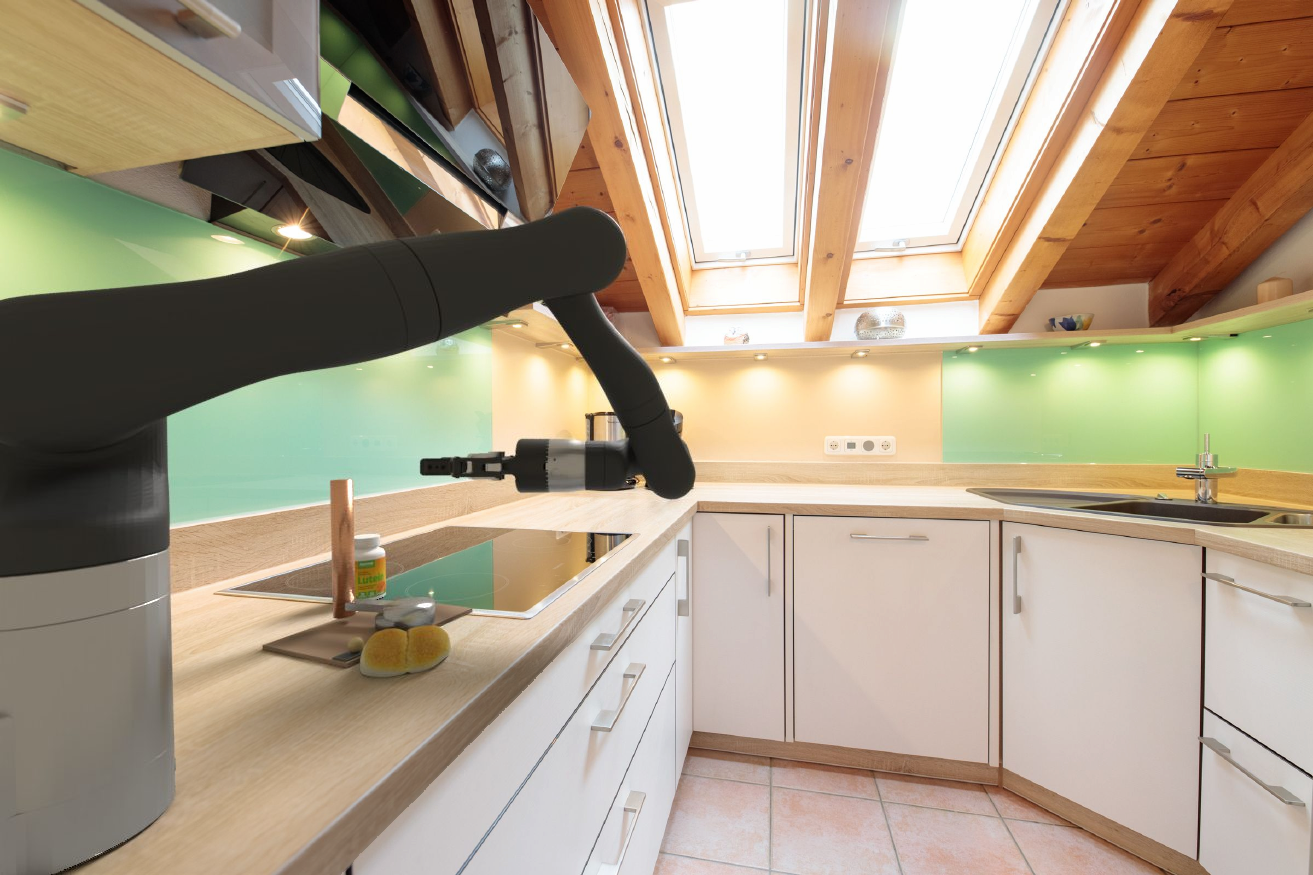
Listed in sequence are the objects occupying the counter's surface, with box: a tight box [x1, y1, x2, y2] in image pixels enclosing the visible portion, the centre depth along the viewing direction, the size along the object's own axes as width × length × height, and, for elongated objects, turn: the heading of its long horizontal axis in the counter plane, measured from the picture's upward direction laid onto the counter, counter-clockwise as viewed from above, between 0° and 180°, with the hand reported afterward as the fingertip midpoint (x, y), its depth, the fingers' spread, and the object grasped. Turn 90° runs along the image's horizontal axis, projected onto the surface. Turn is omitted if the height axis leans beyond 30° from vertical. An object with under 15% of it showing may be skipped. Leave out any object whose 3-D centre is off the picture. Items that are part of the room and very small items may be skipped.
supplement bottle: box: [354, 533, 387, 600], centre depth 81 cm, size 5×5×10 cm
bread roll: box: [359, 625, 452, 678], centre depth 58 cm, size 8×9×4 cm
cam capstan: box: [329, 478, 436, 631], centre depth 67 cm, size 14×6×18 cm, turn 77°
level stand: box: [261, 597, 473, 669], centre depth 67 cm, size 19×14×2 cm
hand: (430, 465), depth 70 cm, fingers open, 8 cm apart
